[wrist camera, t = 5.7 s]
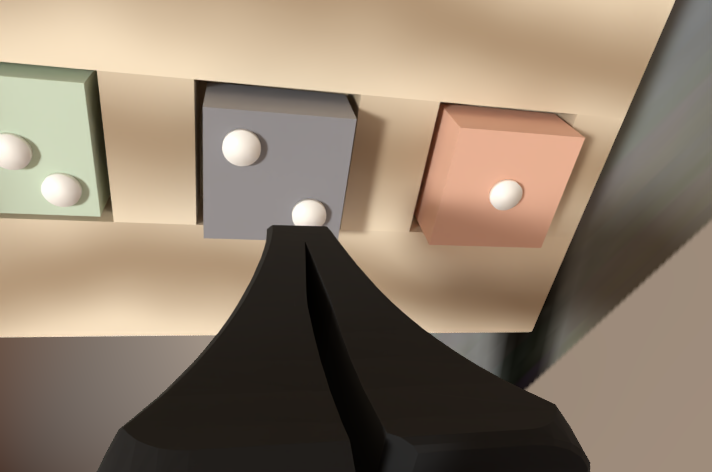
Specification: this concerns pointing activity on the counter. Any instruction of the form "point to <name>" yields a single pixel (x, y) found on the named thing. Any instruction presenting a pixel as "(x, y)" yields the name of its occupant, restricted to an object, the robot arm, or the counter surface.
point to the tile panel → (368, 158)
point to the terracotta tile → (494, 176)
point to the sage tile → (51, 141)
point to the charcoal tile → (273, 159)
